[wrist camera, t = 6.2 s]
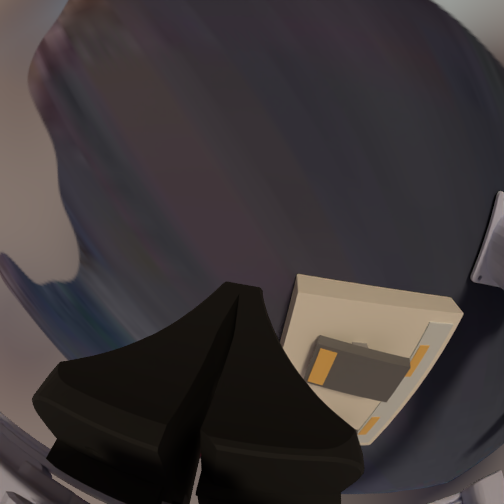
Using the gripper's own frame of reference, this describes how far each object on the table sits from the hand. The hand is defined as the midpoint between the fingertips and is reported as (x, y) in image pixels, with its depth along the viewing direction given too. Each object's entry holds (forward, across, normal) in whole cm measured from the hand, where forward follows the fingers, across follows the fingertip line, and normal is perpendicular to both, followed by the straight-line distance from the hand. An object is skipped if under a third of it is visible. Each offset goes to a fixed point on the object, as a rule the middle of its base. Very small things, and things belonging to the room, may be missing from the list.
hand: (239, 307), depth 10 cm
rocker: (+5, -8, +8) cm, 13 cm away
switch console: (+9, -10, +13) cm, 19 cm away
